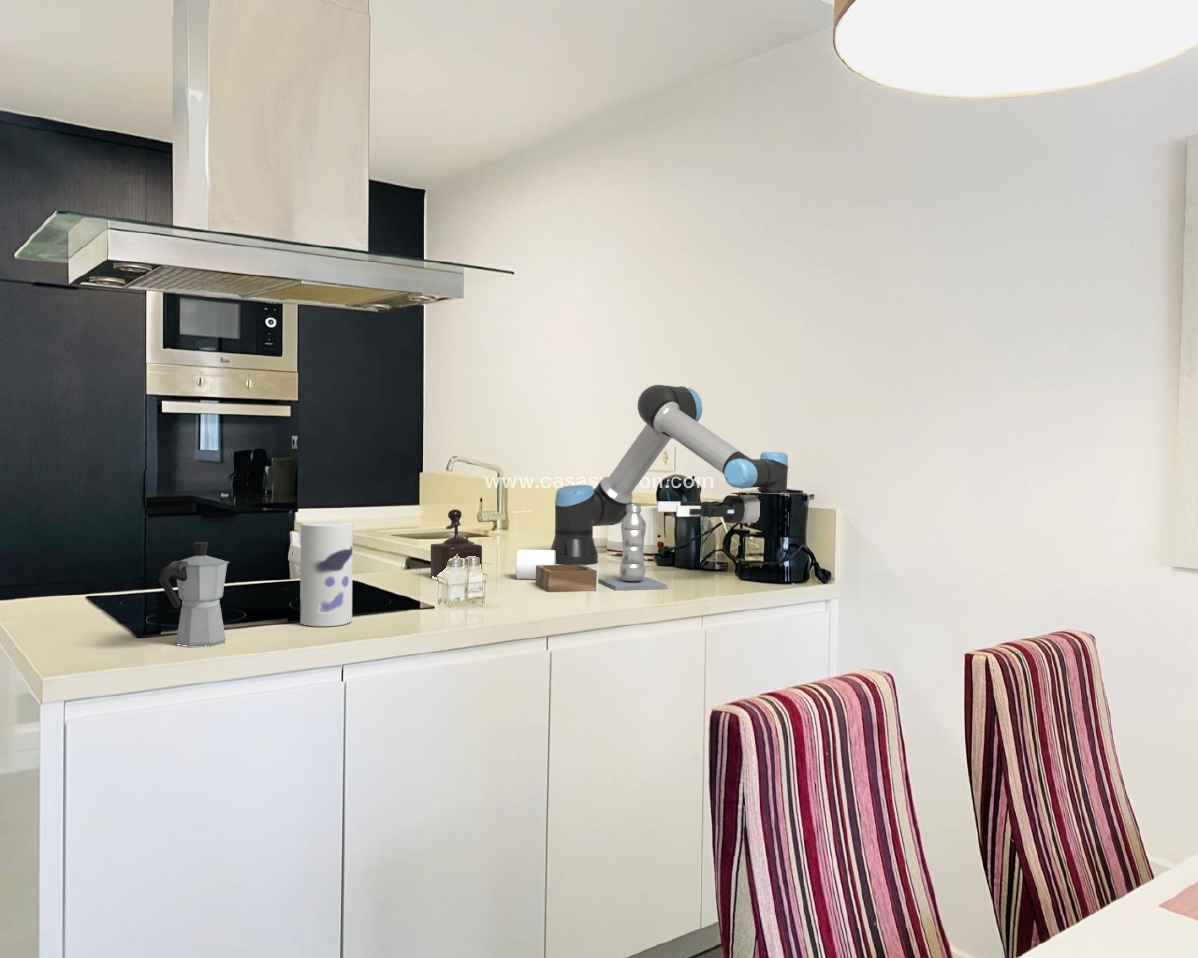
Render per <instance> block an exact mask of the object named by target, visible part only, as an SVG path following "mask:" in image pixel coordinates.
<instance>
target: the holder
mask: <svg viewBox="0 0 1198 958" xmlns="http://www.w3.org/2000/svg"><path fill="white" fill-rule="evenodd" d="M597 572H598V571H597V570H596V569H594V568H592V567H589V566H586V564H556V565H536V580H535V585H536V586H537V587H539V588H541V589H542V590H544V591H545V592H547V593H560V592H561V593H562V592H564V593H565V592H566V593H568V592H592V591H594V592H595V591H597V574H598V573H597Z"/></svg>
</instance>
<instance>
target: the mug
mask: <svg viewBox="0 0 1198 958" xmlns="http://www.w3.org/2000/svg"><path fill="white" fill-rule="evenodd" d="M515 561H516V562H515V574H516V576H515V577H516V580H531V581H532V580H535V581H536V565H557V563H556V555H555V550H551V549H525V548H524V549H523V548H522V549H520V548H519V549H517V551H516V559H515Z"/></svg>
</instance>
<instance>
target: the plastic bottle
mask: <svg viewBox="0 0 1198 958" xmlns="http://www.w3.org/2000/svg"><path fill="white" fill-rule="evenodd" d="M626 512H627V515H626V516H625V518H624V519H623V521H622V522H621V523H620V524H621V525H620V529H621V531H620V532H621V538H622V551H621V552H622V555H621V563H620V567H619V576H620V577H619V578H621V579H622V580H625V581H629V582H636V581H641V580H643V578H644V577H646V576H645V575H646V566H645V560H644V558H645V557H644V546H645V544H644V543H645V535H646V528H647V523H646V520H645V519H644V517H643V516H642V514H641V513H642V505H641V504H638V503H637V504H635V503H634V504H633V503H632V504H628V505H627V510H626Z"/></svg>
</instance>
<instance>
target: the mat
mask: <svg viewBox="0 0 1198 958" xmlns="http://www.w3.org/2000/svg"><path fill="white" fill-rule="evenodd" d="M597 583H598V584H601V585H603V586H605V587H606V588H609V589H611V590H613V591H639V590H642V591H643V590H645V591H648V590H667V589H668V584H666V583H663V582H661V581H658V580H656V579H653V578H651V577H648V576H647V577H646V576H644V578H643V580H641V581H636V582H629V581H625V580H622V579H621V577H617V578H616V577H615V578H613V577H611V578H609V577H607V578H598V582H597Z"/></svg>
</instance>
